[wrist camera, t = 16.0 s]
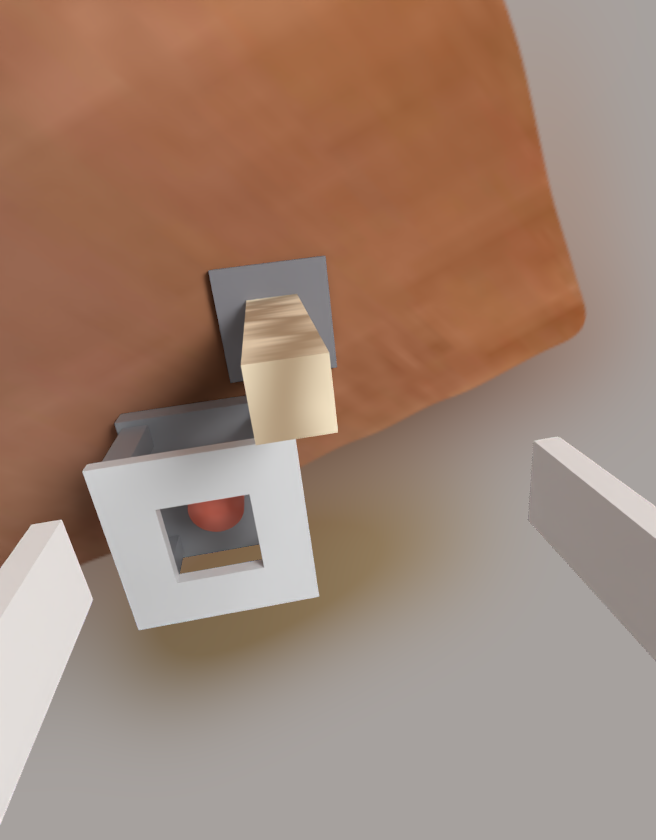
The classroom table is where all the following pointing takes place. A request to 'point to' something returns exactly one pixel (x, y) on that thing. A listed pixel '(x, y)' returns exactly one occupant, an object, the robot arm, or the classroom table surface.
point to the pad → (263, 283)
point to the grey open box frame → (193, 483)
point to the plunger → (217, 513)
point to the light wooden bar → (286, 372)
